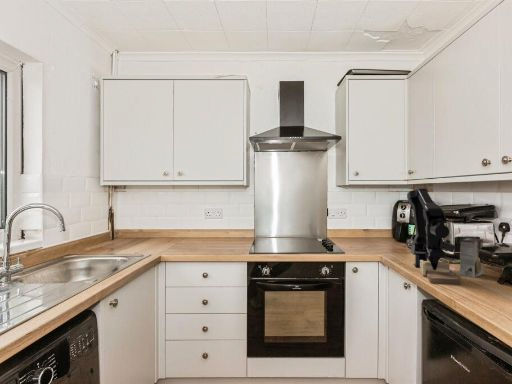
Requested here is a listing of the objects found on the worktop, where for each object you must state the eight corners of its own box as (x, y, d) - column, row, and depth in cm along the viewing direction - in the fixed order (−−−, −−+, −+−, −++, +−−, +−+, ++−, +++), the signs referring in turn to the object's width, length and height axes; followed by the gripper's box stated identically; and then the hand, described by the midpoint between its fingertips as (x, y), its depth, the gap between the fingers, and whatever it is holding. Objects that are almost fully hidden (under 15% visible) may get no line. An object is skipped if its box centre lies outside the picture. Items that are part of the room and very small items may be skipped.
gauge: (420, 271, 160) (420, 259, 160) (446, 273, 157) (446, 260, 157) (422, 275, 153) (422, 262, 153) (450, 276, 150) (450, 264, 150)
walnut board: (424, 273, 159) (424, 268, 159) (450, 274, 155) (450, 270, 155) (430, 282, 143) (430, 277, 143) (460, 284, 140) (460, 279, 140)
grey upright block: (468, 271, 160) (467, 237, 160) (483, 274, 155) (483, 239, 155) (459, 275, 155) (459, 239, 155) (475, 277, 150) (474, 241, 149)
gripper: (459, 238, 143) (459, 275, 144) (448, 232, 161) (448, 265, 161) (429, 237, 147) (430, 273, 147) (422, 232, 165) (423, 264, 165)
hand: (433, 269), depth 155 cm, fingers closed on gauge, 3 cm apart
